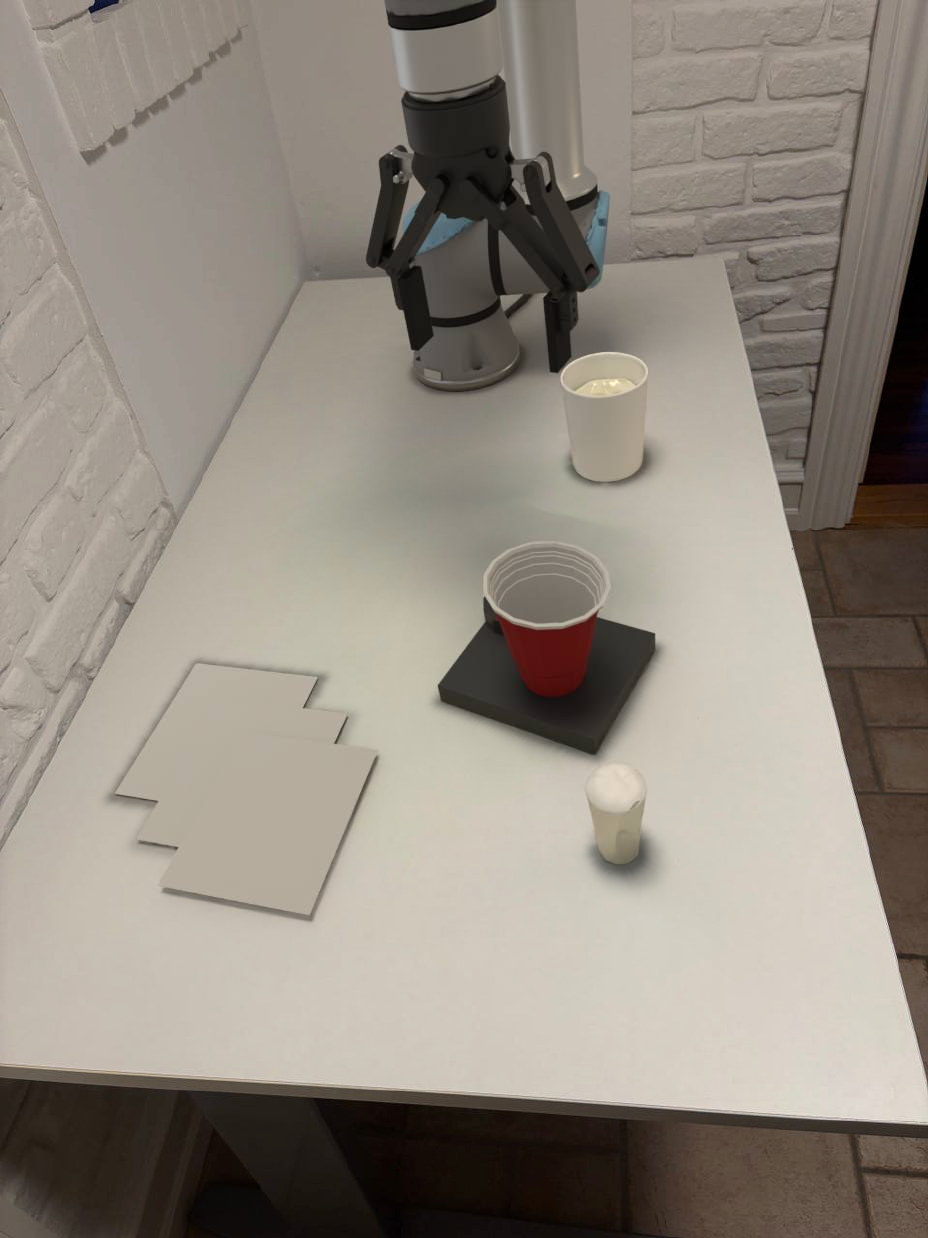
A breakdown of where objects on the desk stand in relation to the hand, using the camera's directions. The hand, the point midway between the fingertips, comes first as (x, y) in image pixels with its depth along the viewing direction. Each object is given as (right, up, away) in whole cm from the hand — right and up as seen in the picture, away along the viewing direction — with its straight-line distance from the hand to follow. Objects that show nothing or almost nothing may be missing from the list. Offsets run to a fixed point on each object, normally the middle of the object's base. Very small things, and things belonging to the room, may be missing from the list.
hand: (489, 353), depth 82 cm
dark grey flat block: (+6, -28, +9) cm, 30 cm away
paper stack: (-22, -37, +6) cm, 44 cm away
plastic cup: (+6, -28, +6) cm, 30 cm away
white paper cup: (+15, -4, +33) cm, 37 cm away
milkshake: (+11, -42, -5) cm, 43 cm away
